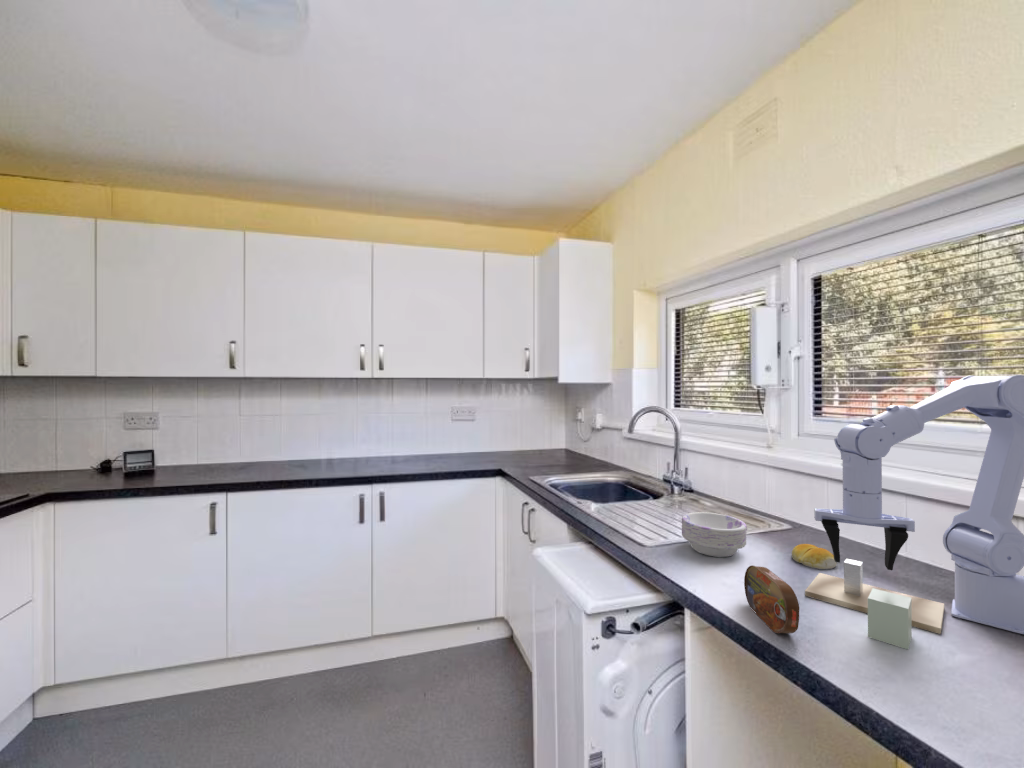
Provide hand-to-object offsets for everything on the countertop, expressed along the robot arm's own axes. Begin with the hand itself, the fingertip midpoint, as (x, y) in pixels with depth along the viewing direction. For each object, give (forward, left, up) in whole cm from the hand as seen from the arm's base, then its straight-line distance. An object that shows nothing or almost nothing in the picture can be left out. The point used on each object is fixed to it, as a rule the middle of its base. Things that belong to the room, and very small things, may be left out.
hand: (862, 564), depth 84 cm
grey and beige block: (+3, -8, -10) cm, 13 cm away
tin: (+12, +13, -10) cm, 20 cm away
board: (0, -8, -10) cm, 12 cm away
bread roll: (+12, -23, -10) cm, 28 cm away
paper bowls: (+33, -14, -10) cm, 37 cm away
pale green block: (-4, +5, -10) cm, 12 cm away
